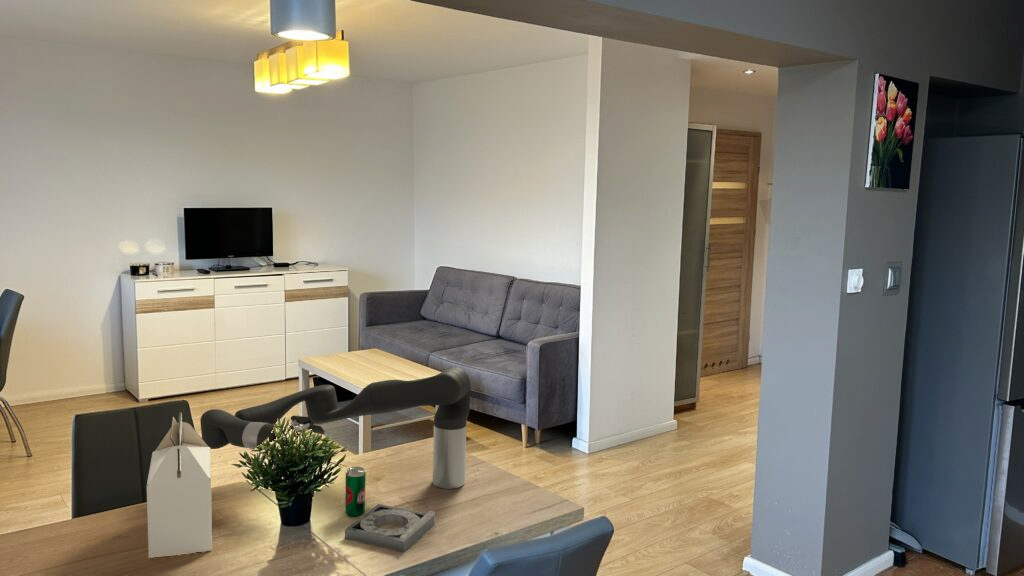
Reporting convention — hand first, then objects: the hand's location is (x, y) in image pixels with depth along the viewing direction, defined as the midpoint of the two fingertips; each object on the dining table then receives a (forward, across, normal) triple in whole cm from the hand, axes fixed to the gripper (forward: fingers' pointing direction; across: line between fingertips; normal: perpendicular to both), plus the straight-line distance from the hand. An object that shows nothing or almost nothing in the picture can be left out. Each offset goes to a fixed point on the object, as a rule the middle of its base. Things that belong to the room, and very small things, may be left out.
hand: (316, 446), depth 202 cm
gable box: (-20, +30, +7) cm, 37 cm away
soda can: (+11, +12, -13) cm, 20 cm away
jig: (+24, +15, -9) cm, 30 cm away
